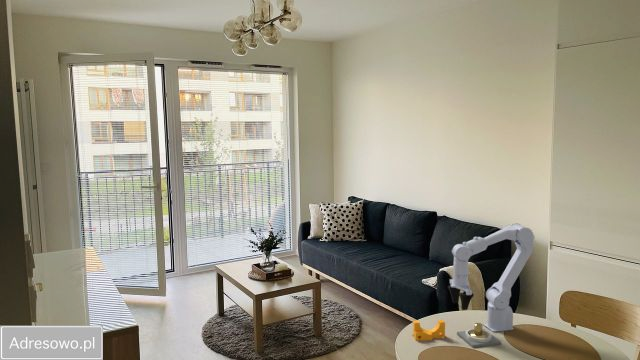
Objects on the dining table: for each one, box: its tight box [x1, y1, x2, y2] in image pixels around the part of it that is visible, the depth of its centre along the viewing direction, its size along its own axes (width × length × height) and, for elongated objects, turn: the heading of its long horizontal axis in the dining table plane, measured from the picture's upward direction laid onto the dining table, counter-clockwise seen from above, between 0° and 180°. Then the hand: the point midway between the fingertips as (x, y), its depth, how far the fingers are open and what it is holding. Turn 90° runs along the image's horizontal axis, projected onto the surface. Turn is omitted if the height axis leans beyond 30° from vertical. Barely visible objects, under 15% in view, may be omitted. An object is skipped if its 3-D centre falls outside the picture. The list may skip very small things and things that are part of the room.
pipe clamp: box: [412, 319, 446, 341], centre depth 186 cm, size 12×4×6 cm, turn 92°
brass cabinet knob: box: [470, 322, 486, 338], centre depth 184 cm, size 6×6×5 cm
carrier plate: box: [456, 328, 502, 348], centre depth 185 cm, size 12×12×2 cm
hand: (460, 306), depth 194 cm, fingers open, 7 cm apart
